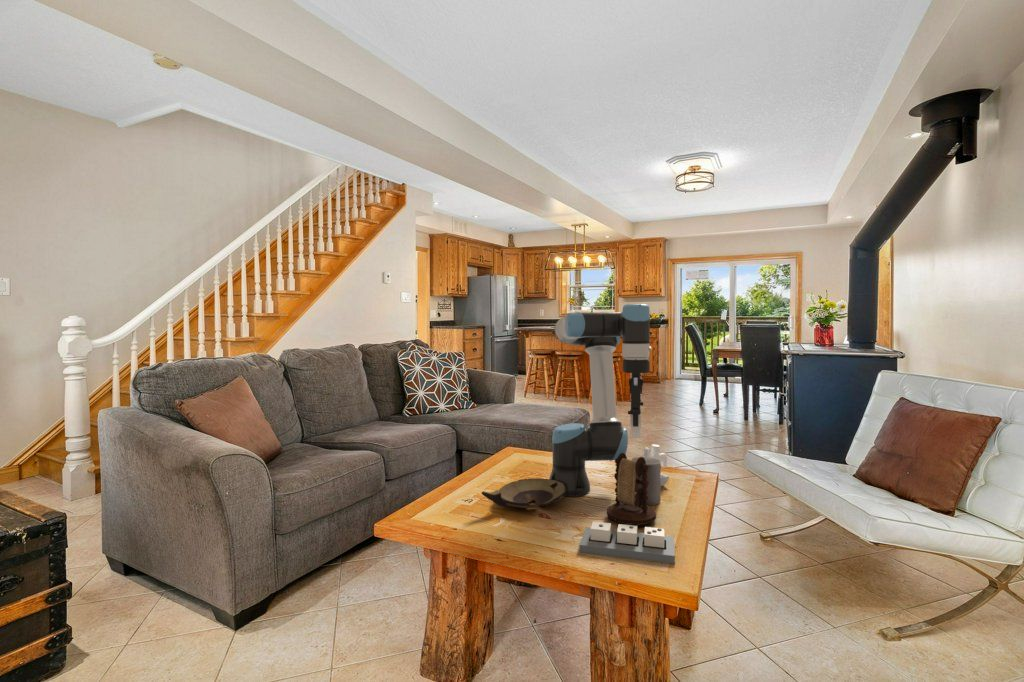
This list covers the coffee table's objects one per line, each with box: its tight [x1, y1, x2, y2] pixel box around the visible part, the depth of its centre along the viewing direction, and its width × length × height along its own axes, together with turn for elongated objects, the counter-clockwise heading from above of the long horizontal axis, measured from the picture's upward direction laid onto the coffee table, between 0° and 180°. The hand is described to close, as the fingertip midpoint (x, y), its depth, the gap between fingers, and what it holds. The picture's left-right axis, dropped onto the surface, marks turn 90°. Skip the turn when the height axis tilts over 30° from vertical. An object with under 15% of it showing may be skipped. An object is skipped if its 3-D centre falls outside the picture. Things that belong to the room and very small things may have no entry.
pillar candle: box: [631, 456, 662, 506], centre depth 171 cm, size 10×10×15 cm
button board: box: [578, 526, 676, 564], centre depth 136 cm, size 24×12×2 cm, turn 74°
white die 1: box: [590, 521, 612, 543], centre depth 138 cm, size 5×5×3 cm
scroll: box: [606, 453, 657, 529], centre depth 155 cm, size 15×15×20 cm
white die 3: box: [643, 526, 665, 549], centre depth 134 cm, size 5×5×3 cm
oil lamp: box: [481, 477, 566, 509], centre depth 168 cm, size 22×30×8 cm
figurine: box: [643, 443, 670, 487], centre depth 186 cm, size 7×9×15 cm
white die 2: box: [616, 523, 638, 546], centre depth 136 cm, size 5×5×3 cm
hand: (636, 432), depth 144 cm, fingers open, 13 cm apart
